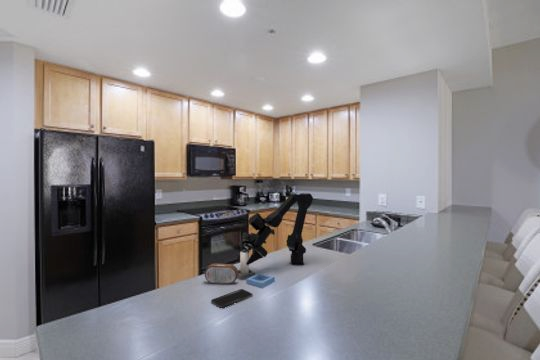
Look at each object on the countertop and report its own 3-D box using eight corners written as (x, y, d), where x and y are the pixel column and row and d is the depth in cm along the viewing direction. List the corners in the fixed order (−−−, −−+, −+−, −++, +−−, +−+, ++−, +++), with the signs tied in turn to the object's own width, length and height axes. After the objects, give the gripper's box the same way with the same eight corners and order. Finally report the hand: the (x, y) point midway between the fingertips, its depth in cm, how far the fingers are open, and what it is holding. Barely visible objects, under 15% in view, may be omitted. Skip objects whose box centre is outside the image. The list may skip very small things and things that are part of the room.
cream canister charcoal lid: (249, 274, 126) (249, 248, 126) (248, 277, 122) (248, 251, 122) (241, 274, 126) (240, 248, 126) (239, 277, 122) (239, 251, 122)
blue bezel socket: (259, 277, 122) (259, 273, 122) (274, 281, 117) (274, 276, 117) (246, 283, 115) (246, 278, 115) (262, 288, 109) (262, 283, 109)
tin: (238, 282, 116) (238, 263, 116) (237, 285, 113) (237, 265, 113) (206, 281, 118) (206, 262, 118) (203, 284, 115) (203, 265, 115)
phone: (209, 300, 97) (241, 288, 107) (209, 303, 97) (241, 291, 107) (221, 307, 91) (253, 294, 102) (221, 310, 91) (254, 297, 102)
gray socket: (247, 272, 129) (247, 268, 129) (255, 276, 123) (255, 272, 123) (234, 275, 125) (233, 271, 125) (241, 280, 119) (241, 275, 119)
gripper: (242, 223, 134) (223, 248, 128) (261, 228, 119) (240, 256, 112) (255, 236, 138) (237, 261, 132) (275, 243, 123) (256, 271, 117)
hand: (242, 262), depth 123 cm, fingers open, 9 cm apart
